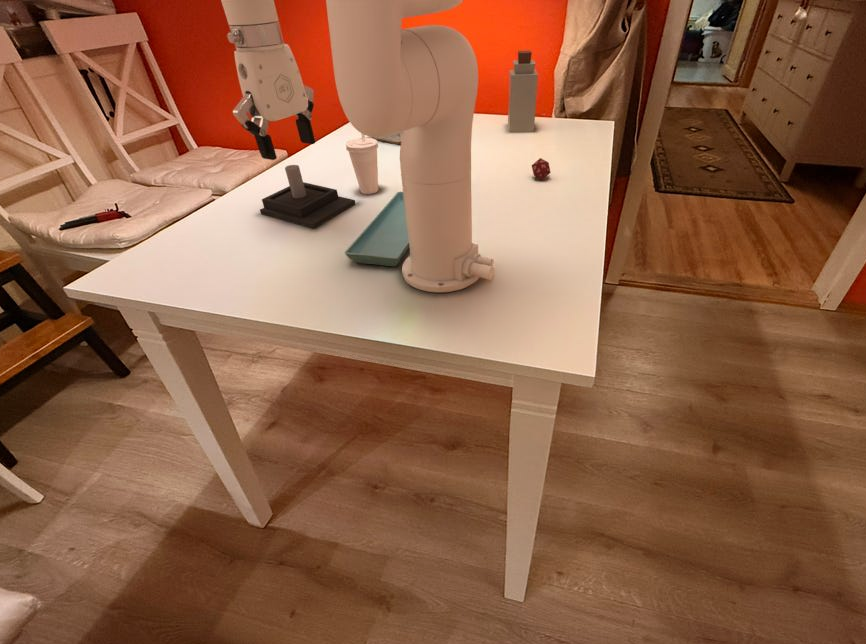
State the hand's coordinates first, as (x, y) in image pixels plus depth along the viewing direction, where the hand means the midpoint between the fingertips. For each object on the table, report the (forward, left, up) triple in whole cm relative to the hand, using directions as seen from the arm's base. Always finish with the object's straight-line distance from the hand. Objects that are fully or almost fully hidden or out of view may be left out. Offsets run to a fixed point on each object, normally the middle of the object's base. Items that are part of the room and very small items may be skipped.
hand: (289, 150), depth 84 cm
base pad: (-1, 0, -11) cm, 11 cm away
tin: (+10, -42, -11) cm, 45 cm away
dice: (-36, -35, -11) cm, 52 cm away
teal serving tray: (-23, 0, -11) cm, 26 cm away
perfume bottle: (-17, -67, -11) cm, 70 cm away
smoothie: (-6, -13, -11) cm, 18 cm away
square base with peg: (+1, 0, -10) cm, 10 cm away
